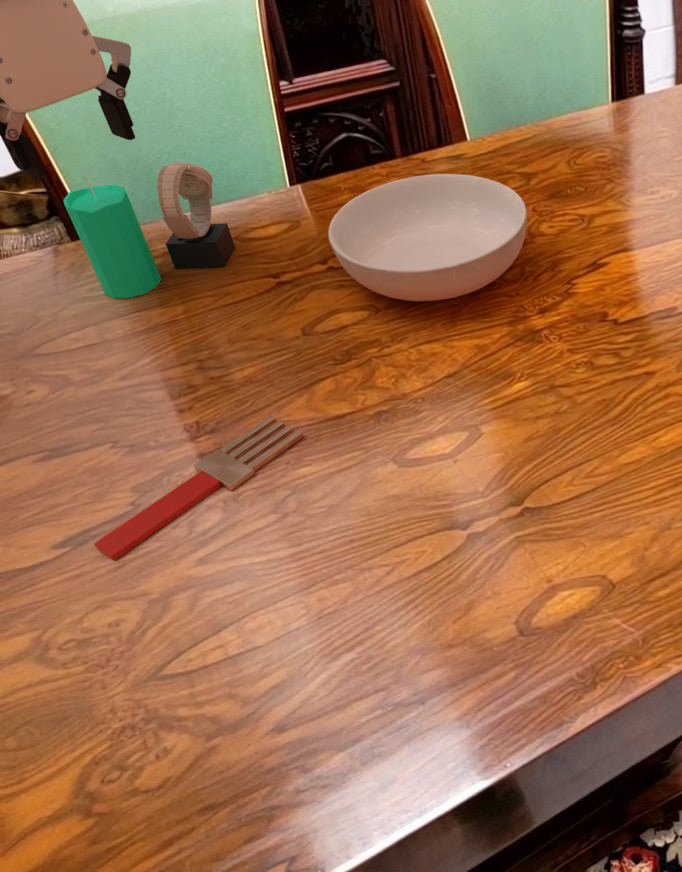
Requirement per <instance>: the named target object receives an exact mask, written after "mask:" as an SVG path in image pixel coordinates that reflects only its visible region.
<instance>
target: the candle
mask: <svg viewBox="0 0 682 872" xmlns="http://www.w3.org/2000/svg"><path fill="white" fill-rule="evenodd" d="M87 183H88V186H89V187H82V188H79V189H75V190H72V191H68V193H67V195H65V197H64V199H63V200H62V201H63V204H64V207H65V209H66V211H67V214H68V216H69V218H70V220H71V222H72V224H73V227H74V229H75V231H76V234H77V236H78V238H79V240H80V242H81V245H82V246H83V249H84V251H85V253H86V255H87V257H88V260H89V262H90V264H91V266H92V269H93V271H94V273H95V275H96V277H97V279H98V282H99V284H100V286H101V288H102V291H103V293H104V294H105V296H108V297H110V298H113V299H131V298H135V297H138V296H141V295H146V294H147V293H149V292H150V291H152V290H154V289H156V288H157V287H158V286H159V284H160V283H161V281H162V280H163V279H162V276H161V274H160V272H159V269H158V267H157V265H156V261H155V259H154V257H153V255H152V252H151V250H150V248H149V245H148V242H147V240H146V238H145V235H144V233H143V230H142V228H141V225H140V222H139V220H138V217H137V214H136V212H135V211H134V208H133V205H132V203H131V201H130V198H129V196H128V193H127V191H126V188H125V187H124V186H121V185H117V184H107V185H97V186H93V185H91V182H90V181H88V182H87Z"/></svg>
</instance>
